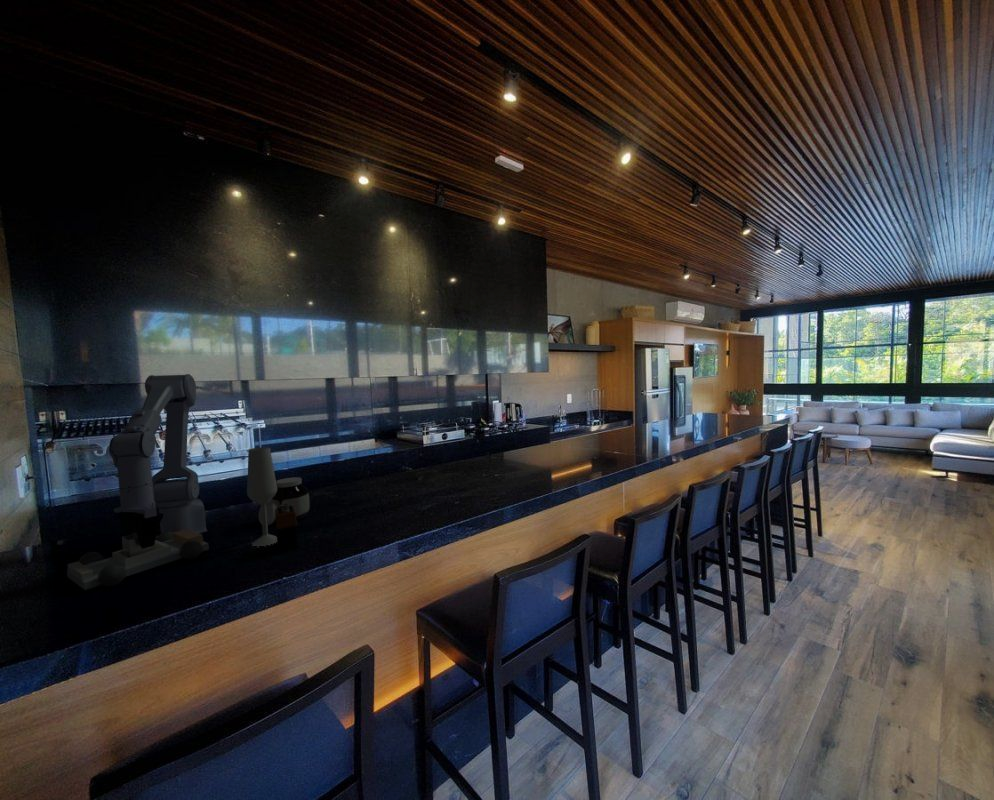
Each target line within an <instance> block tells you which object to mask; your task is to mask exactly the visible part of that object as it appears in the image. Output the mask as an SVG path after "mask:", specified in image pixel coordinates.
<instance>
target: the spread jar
mask: <svg viewBox="0 0 994 800" xmlns="http://www.w3.org/2000/svg"><path fill="white" fill-rule="evenodd" d="M276 484H277V492H276V494H275V496H274V497H273V498H272V499H271V500H270V501H269V502H268V503H267V504H266V512H267V526H270V525H272V524H273V523H274V522H276V517H275V509H276V508H280V505H282V504H286V503H287V504H289V506H294V507H295V511H296V521H299V520H301V519H303V518H304V517H305V516H307V514H308V512H309V511H310V508H311V507H310V506H311V505H310V493H309V490H308V488H307V487H306V486H304V485H303V484H302V478H301V477H299V476H298V477H297V476H296V477H295V476H294V477H286V478H281V479H278V480H276ZM258 511H259V512H258V521H259V524H261V525H262V516H261V507H260V508H259V510H258Z"/></svg>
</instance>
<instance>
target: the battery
mask: <svg viewBox="0 0 994 800" xmlns="http://www.w3.org/2000/svg"><path fill="white" fill-rule="evenodd" d="M275 517H276V520H275V529H276V537H277V543H276V544H277V551H278V553H280V552H286V551H291V550H295V548H296V549H297V548H298V547H299V539H298V538H299V537H298V523H297V521H298V520H296V511H295V507H294V506H289V504H287V503H286V504H282V505H280V508H276V509H275Z"/></svg>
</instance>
